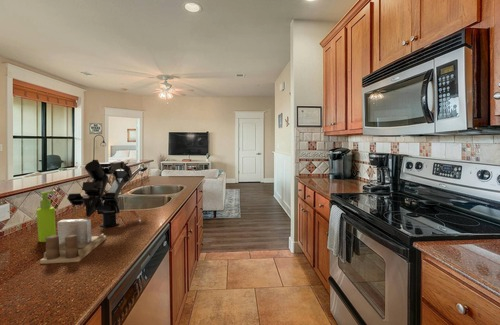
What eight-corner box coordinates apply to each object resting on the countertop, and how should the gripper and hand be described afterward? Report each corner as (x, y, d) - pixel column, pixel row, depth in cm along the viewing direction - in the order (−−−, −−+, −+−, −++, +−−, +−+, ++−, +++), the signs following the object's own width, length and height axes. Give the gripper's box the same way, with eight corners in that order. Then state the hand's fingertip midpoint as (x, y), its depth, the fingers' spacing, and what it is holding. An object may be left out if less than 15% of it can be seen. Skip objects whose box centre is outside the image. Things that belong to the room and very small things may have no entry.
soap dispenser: (62, 237, 111) (59, 191, 110) (44, 242, 105) (42, 193, 103) (52, 235, 113) (50, 190, 112) (35, 241, 107) (32, 193, 105)
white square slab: (63, 245, 98) (62, 219, 97) (91, 244, 99) (90, 218, 98) (58, 249, 95) (57, 222, 94) (87, 247, 96) (86, 221, 95)
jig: (75, 239, 108) (74, 220, 107) (106, 238, 110) (105, 219, 109) (40, 263, 86) (38, 239, 86) (78, 261, 88) (77, 237, 87)
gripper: (68, 174, 109) (53, 206, 99) (115, 173, 111) (105, 205, 101) (79, 189, 117) (66, 220, 107) (122, 188, 120) (114, 219, 110)
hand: (87, 216), depth 106 cm, fingers closed
